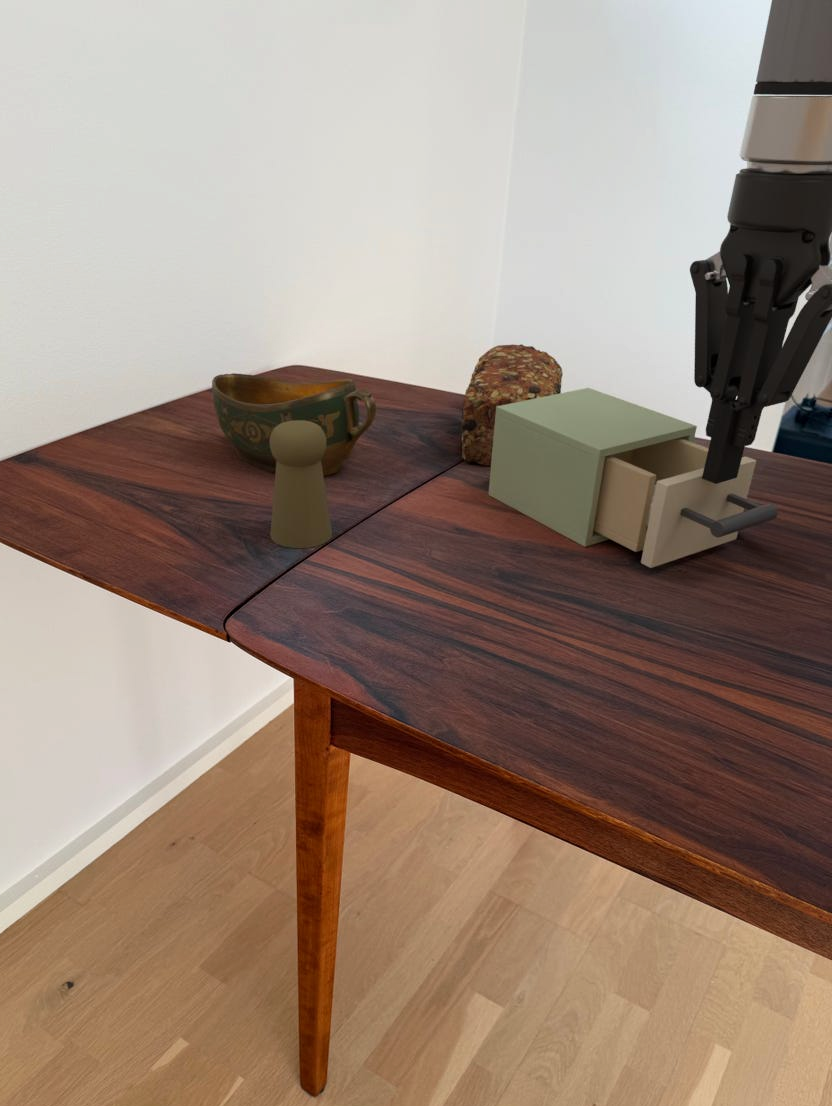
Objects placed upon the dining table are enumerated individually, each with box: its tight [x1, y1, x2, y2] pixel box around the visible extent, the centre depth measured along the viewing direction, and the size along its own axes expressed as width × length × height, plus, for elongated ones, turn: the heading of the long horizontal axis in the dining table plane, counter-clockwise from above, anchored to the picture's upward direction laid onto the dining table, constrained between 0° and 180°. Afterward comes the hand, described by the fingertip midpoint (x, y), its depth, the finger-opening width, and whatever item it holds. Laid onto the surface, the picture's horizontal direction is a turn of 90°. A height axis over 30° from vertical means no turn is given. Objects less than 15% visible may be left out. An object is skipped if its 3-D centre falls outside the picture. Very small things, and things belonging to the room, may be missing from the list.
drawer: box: [593, 438, 779, 569], centre depth 81 cm, size 18×11×8 cm, turn 31°
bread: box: [461, 343, 563, 467], centre depth 105 cm, size 19×11×10 cm, turn 166°
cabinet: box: [487, 387, 698, 548], centre depth 89 cm, size 15×13×10 cm
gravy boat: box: [211, 373, 377, 477], centre depth 99 cm, size 13×20×10 cm, turn 28°
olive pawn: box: [269, 420, 333, 549], centre depth 83 cm, size 6×6×11 cm
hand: (719, 477), depth 75 cm, fingers closed
